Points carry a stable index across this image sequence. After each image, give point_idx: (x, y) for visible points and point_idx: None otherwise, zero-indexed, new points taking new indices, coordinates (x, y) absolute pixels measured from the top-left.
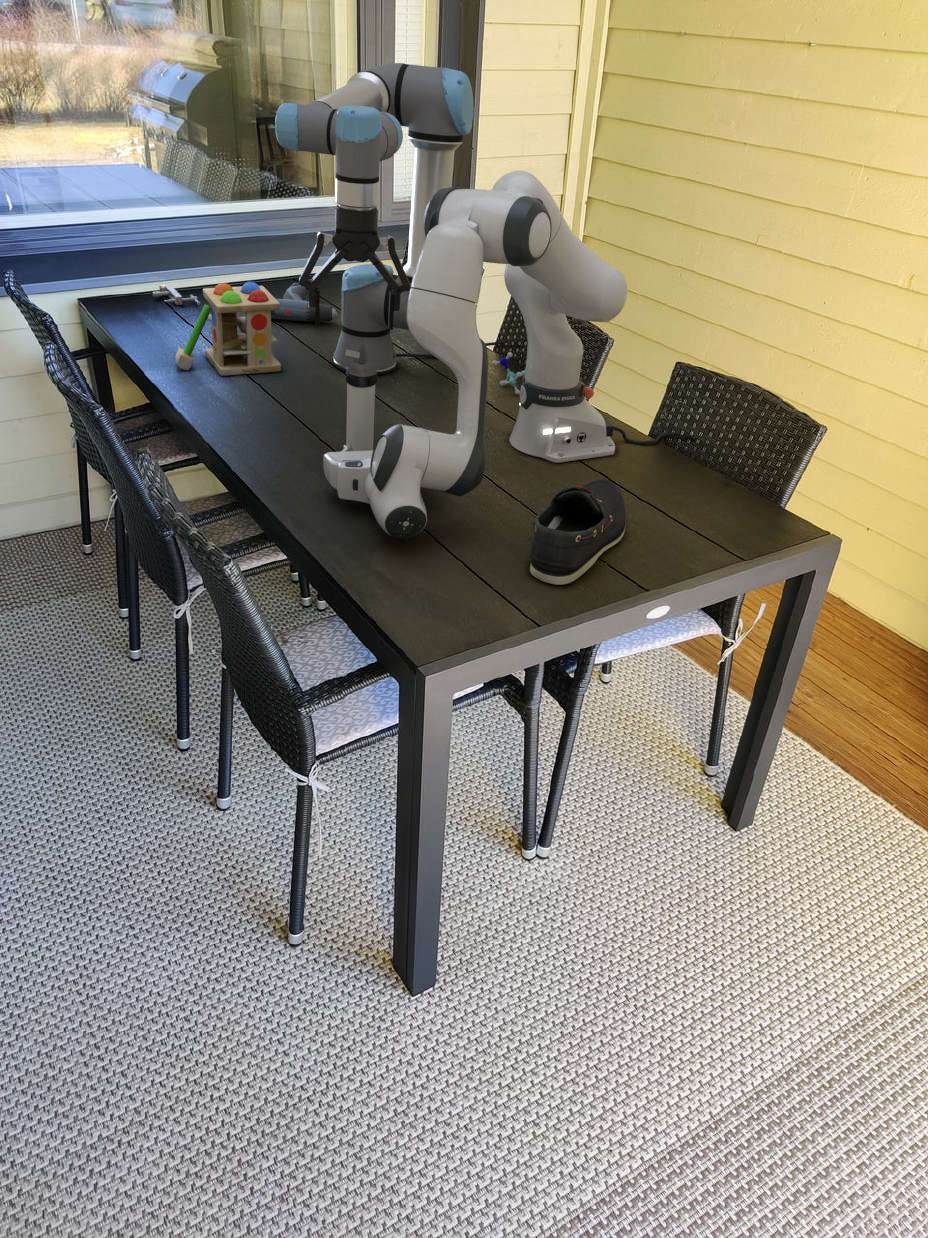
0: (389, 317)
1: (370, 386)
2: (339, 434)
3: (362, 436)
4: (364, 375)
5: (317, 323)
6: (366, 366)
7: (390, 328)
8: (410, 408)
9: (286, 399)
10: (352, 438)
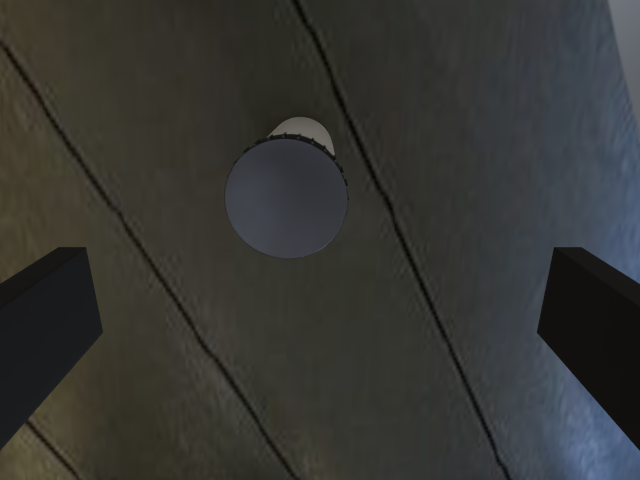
0: (32, 281)
1: None
2: (344, 238)
3: (292, 121)
4: (274, 152)
5: (579, 254)
6: (266, 251)
7: (70, 249)
8: (185, 377)
9: (449, 400)
10: (319, 127)
